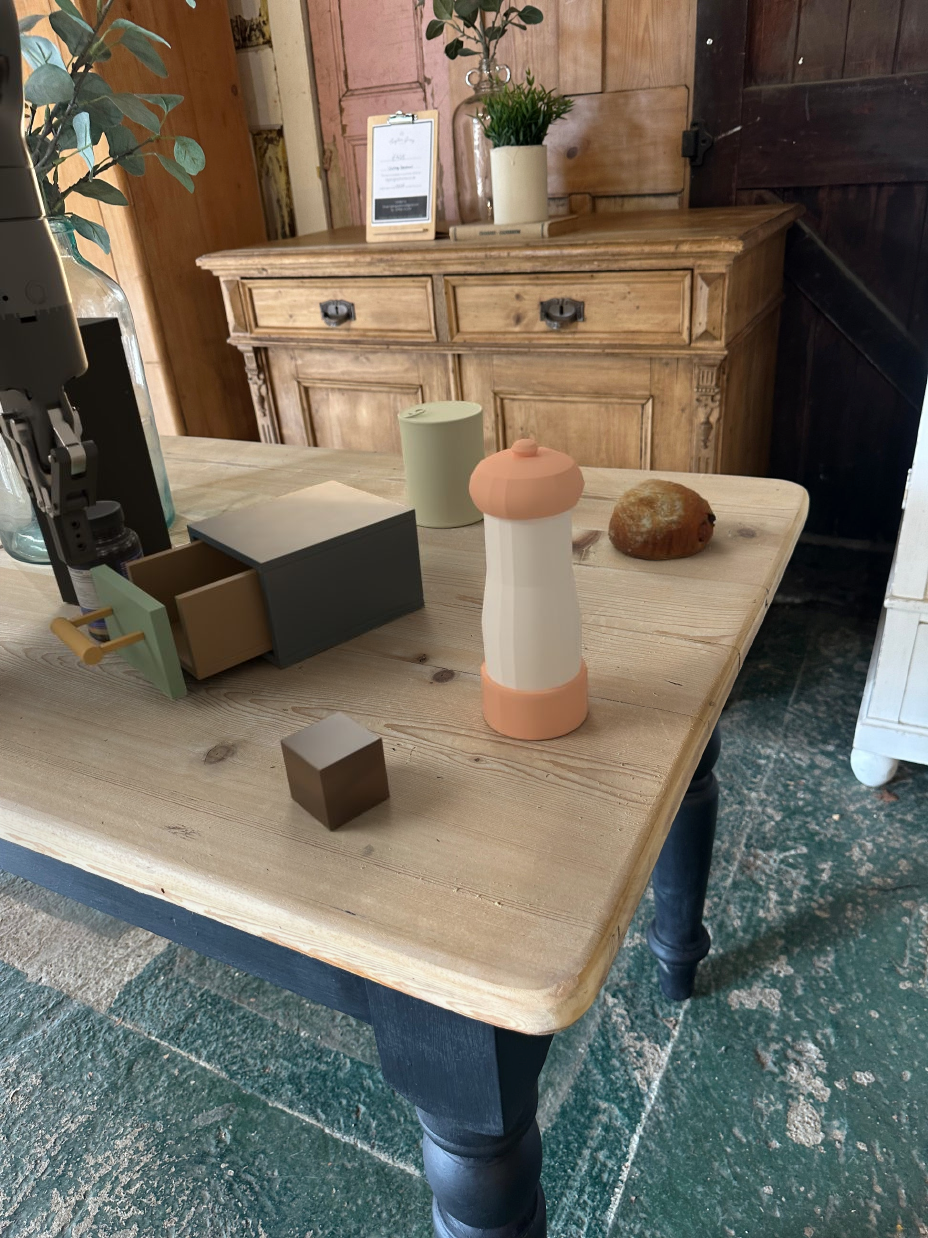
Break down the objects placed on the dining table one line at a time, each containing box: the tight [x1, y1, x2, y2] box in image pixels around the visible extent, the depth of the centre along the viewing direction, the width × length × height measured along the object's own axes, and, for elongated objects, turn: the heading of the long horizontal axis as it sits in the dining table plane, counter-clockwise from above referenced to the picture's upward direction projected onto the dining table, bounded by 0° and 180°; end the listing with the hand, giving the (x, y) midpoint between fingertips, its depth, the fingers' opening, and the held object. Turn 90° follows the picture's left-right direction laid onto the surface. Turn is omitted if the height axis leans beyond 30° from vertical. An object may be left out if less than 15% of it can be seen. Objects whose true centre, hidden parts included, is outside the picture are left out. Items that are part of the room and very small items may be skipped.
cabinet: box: [186, 479, 426, 670], centre depth 74 cm, size 15×13×9 cm
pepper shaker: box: [469, 438, 589, 741], centre depth 56 cm, size 7×7×19 cm
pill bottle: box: [67, 501, 144, 642], centre depth 74 cm, size 6×6×11 cm
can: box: [397, 400, 486, 529], centre depth 94 cm, size 9×9×12 cm
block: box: [279, 710, 391, 832], centre depth 52 cm, size 4×4×4 cm
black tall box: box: [0, 316, 173, 606], centre depth 77 cm, size 8×8×28 cm
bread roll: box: [607, 478, 717, 561], centre depth 84 cm, size 10×10×8 cm
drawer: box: [49, 540, 273, 701], centre depth 68 cm, size 18×11×7 cm, turn 131°
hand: (79, 560), depth 61 cm, fingers closed
